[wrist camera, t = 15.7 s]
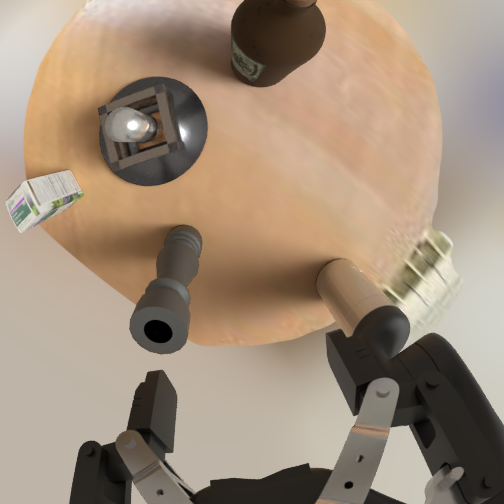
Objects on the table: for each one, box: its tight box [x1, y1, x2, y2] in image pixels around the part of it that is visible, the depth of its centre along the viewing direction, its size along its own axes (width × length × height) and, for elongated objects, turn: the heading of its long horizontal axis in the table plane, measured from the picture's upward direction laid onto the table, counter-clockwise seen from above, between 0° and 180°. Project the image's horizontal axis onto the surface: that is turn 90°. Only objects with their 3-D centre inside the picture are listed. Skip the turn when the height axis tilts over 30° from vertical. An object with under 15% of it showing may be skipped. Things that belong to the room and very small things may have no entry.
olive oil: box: [231, 0, 326, 87], centre depth 26 cm, size 11×11×25 cm
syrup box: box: [5, 170, 84, 233], centre depth 34 cm, size 6×6×14 cm
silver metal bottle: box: [105, 107, 163, 143], centre depth 32 cm, size 4×4×14 cm
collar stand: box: [98, 77, 208, 186], centre depth 35 cm, size 18×18×10 cm
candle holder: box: [129, 225, 202, 354], centre depth 36 cm, size 6×6×25 cm
